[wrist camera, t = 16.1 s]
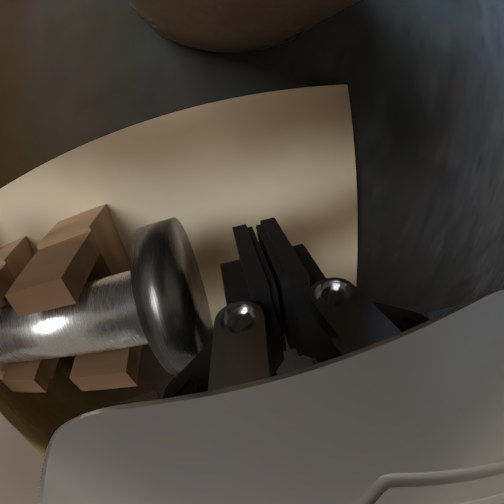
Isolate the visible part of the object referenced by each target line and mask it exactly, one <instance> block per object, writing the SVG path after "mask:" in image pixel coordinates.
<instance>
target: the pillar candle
mask: <svg viewBox="0 0 504 504" xmlns="http://www.w3.org/2000/svg"><path fill="white" fill-rule="evenodd" d="M127 1H128V2H129V3H130V5H131V7H132V9H134V10H135V11H136V12H137V13H138V15H139V16H140V17H141V18H142V19H144V20H145V21H146V22H147V23H148V24H149V25H150V26H151V28H153V29H154V30H155V31H156V32H158V33H159V34H160V36H162V37H164V38H165V39H168V40H171V41H174V42H176V43H178V44H181V45H184V46H187V47H192V48H197V49H202V50H206V51H212V52H225V53H241V52H252V51H259V50H264V49H268V48H271V47H272V46H278V45H282V44H285V43H287V42H289V41H291V40H293V39H295V38H297V37H299V36H301V35H302V34H304V33H306V32H307V31H308V30H310V29H311V28H313V27H314V26H315V25H316V24H317V23H318V22H321V21H324V20H325V19H327V18H330V17H331V16H332V15H334V14H336V13H339V12H340V11H341V10H343V9H346V8H348V7H350V6H351V5H354V4H356V3H358V2H361V1H363V0H127Z"/></svg>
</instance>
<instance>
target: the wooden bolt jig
mask: <svg viewBox="0 0 504 504" xmlns="http://www.w3.org/2000/svg"><path fill="white" fill-rule="evenodd" d="M173 217H175V218H177V219H178V220H179V221H180V223H181V224H182V226H183V228H184V230H185V232H186V234H187V236H188V238H189V241H190V243H191V246H192V249H193V252H194V254H195V258H196V261H197V264H198V267H199V270H200V274H201V277H202V281H203V284H204V288H205V292H206V296H207V300H208V304H209V309H210V313H211V318H212V323H213V328H214V320H215V317H216V315H217V314H218V312H219V311H220V310H221V309H222V308H224V307H225V306H227V305H226V299H225V292H224V286H223V280H222V273H221V266H220V264H222V263H226V262H231V261H235V260H239V254H238V250H237V246H236V242H235V238H234V233H233V229H232V227H235V226H239V225H244V224H246V226H247V227H251V226H252V227H253V230H254V232H255V234H256V237H257V239H258V235H257V230H256V225H259V224H260V220H265V219H269V218H273V217H274V218H275V219H276V221H277V222H278V224H279V226H280V227H281V229H282V230H283V232H284V234H285V235H286V237H287V239H288V240H289V242H290V244H291V245H292V246H295V245H299V244H303V245H304V246H305V247H306V249H307V250H308V252H309V253H310V255H311V256H312V258H313V259H314V261H315V262H316V264H317V265H318V267H319V268H320V270H321V271H322V273H323V274H324V276H325V277H326V278H333V277H336V278H342V279H345V280H348V281H349V282H351V283H352V284H353V285H355V286H356V280H357V250H358V210H357V180H356V162H355V148H354V136H353V126H352V117H351V108H350V100H349V93H348V86H347V85H327V86H314V87H303V88H294V89H286V90H278V91H271V92H264V93H258V94H252V95H246V96H241V97H236V98H231V99H226V100H221V101H217V102H212V103H208V104H204V105H200V106H196V107H192V108H188V109H184V110H181V111H177V112H174V113H170V114H167V115H163V116H160V117H157V118H154V119H150V120H147V121H144V122H141V123H138V124H136V125H133V126H130V127H127V128H124V129H122V130H119V131H116V132H114V133H111V134H108V135H106V136H103V137H101V138H98V139H96V140H94V141H91V142H89V143H87V144H84V145H82V146H80V147H78V148H75V149H73V150H71V151H69V152H67V153H65V154H63V155H60V156H58V157H56V158H54V159H52V160H50V161H48V162H46V163H45V164H43V165H41V166H39V167H37V168H35V169H33V170H31V171H30V172H28V173H26V174H24V175H23V176H21V177H19V178H17V179H16V180H14V181H12V182H11V183H9V184H7V185H6V186H4V187H3V188H1V189H0V306H4V305H7V304H11V306H12V307H13V309H14V310H15V312H16V313H17V315H18V316H19V317H21V316H25V315H30V314H34V313H38V312H42V311H46V310H51V309H55V308H59V307H63V306H67V305H71V304H75V303H77V300H78V298H79V296H80V294H81V292H82V289H83V287H84V285H85V283H86V282H89V281H92V280H96V279H100V278H103V277H107V276H111V275H115V274H118V273H122V272H126V271H129V270H130V254H131V245H132V240H133V237H134V234H135V232H136V230H137V229H138V228H139V227H142V226H145V225H148V224H152V223H155V222H158V221H162V220H165V219H169V218H173ZM258 242H259V240H258ZM141 349H142V345H140V346H135V347H129V348H123V349H117V350H111V351H104V352H98V353H91V354H84V355H77V356H76V357H75V360H74V363H73V367H72V370H71V374H70V379H71V380H72V381H73V382H74V383H75V384H76V385H77V386H78V387H79V388H80V389H81V390H82V391H89V390H103V389H114V388H124V387H133V386H137V385H138V375H139V366H140V357H141ZM58 361H59V358H52V359H43V360H33V361H21V362H8V363H0V379H2V381H3V382H4V383H5V384H6V385H7V386H8V387H9V388H10V389H11V390H12V391H13V392H46V391H47V387H48V384H49V381H50V378H53V376H54V373H55V370H56V367H57V364H58Z"/></svg>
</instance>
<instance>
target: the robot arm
mask: <svg viewBox="0 0 504 504" xmlns="http://www.w3.org/2000/svg"><path fill="white" fill-rule="evenodd" d="M232 229H233V233H234V238H235V242H236V246H237V250H238V254H239V260H235V261H231V262H226V263H222V264H220V266H221V273H222V280H223V286H224V292H225V299H226V305H227V306H225V307H224V308H222V309H221V310H220V311H219V312H218V314H217V315H216V317H215V320H214V328H213V338H212V340H211V341H210V342H209V343H208V344H207V345H206V346H205V347H204V348H203V349H202V350H201V351H200V352H199V353H198V354H197V355H196V356H195V357H194V358H193V360H192V361H191V362H190V363H189V364H188V365H187V366H186V367H185V368H184V369H183V370H182V371H181V372H180V373H179V374H178V375H177V376H176V377H175V378H174V379H173V380H172V381H171V382H170V383H169V384H168V386H167V387H166V388H165V391H164V392H161V393H158V392H157V391H153V392H150V393H147V394H144V395H141V396H138V397H135V398H132V399H129V400H126V401H123V402H119V403H116V404H113V405H109V406H106V407H104V408H101V409H98V410H94V411H91V412H88V413H85V414H82V415H80V416H78V417H76V418H73V419H71V420H69V421H68V422H66V423H64V424H63V425H62V426H60V427H59V428H58V429H57V430H56V431H55V432H54V434H53V436H52V438H51V440H50V442H49V444H48V447H47V450H46V454H45V458H44V463H43V468H42V474H41V481H40V491H39V504H504V289H499V290H495V291H491V292H489V293H486V294H483V295H481V296H478V297H476V298H474V299H472V300H470V301H468V302H466V303H463V304H461V305H459V306H455V307H451V308H446V309H442V310H437V311H433V312H428V313H426V316H425V317H424V316H423V315H421V314H419V313H416V312H412V311H408V310H404V309H400V308H395V307H391V306H387V305H383V304H379V303H375V302H371V301H370V300H369V299H368V298H367V297H366V296H365V295H364V294H363V293H362V292H361V291H360V290H359V289H358V288H357V287H356V286H355V285H353V284H352V283H351V282H349V281H348V280H345V279H342V278H336V277H333V278H326V277H325V276H324V274H323V273H322V271H321V270H320V268H319V267H318V265H317V264H316V262H315V261H314V259H313V258H312V256H311V255H310V253H309V252H308V250H307V249H306V247H305V246H304V245H303V244H299V245H295V246H292V245H291V244H290V242H289V240H288V239H287V237H286V235H285V234H284V232H283V230H282V229H281V227H280V226H279V224H278V222H277V221H276V219H275V218H274V217H273V218H269V219H265V220H260V224H259V225H256V230H257V235H258V239H257V237H256V234H255V232H254V230H253V227H252V226H251V227H247V226H246V224H244V225H239V226H235V227H232ZM258 240H259V242H258ZM284 333H285V336H286V339H287V342H288V344H289V347H290V349H294V348H296V350H297V353H298V355H299V356H301V355H306V356H309V357H311V358H312V361H313V363H314V365H311V366H308V367H305V368H301V369H298V370H294V371H291V372H287V373H284V374H280V375H277V373H276V370H277V369H278V368H279V366H280V365H281V363H282V362H283V361H284V355H283V351H286V344H285V338H284Z"/></svg>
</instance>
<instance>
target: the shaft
mask: <svg viewBox="0 0 504 504" xmlns="http://www.w3.org/2000/svg"><path fill="white" fill-rule="evenodd" d="M212 338H213V323H212V318H211V313H210V309H209V304H208V300H207V296H206V292H205V288H204V284H203V281H202V277H201V274H200V270H199V267H198V264H197V261H196V258H195V254H194V252H193V249H192V246H191V243H190V241H189V238H188V236H187V234H186V232H185V230H184V228H183V226H182V224H181V223H180V221H179V220H178V219H177V218H175V217H173V218H169V219H165V220H162V221H158V222H155V223H152V224H148V225H145V226H142V227H139V228H138V229H137V230H136V232H135V234H134V237H133V240H132V245H131V254H130V270H129V271H126V272H122V273H118V274H115V275H111V276H107V277H103V278H100V279H96V280H92V281H89V282H86V283H85V285H84V287H83V289H82V292H81V294H80V296H79V298H78V300H77V303H75V304H71V305H67V306H63V307H59V308H55V309H51V310H46V311H42V312H38V313H34V314H30V315H25V316H21V317H19V316H18V315H17V313H16V312H15V310H14V309H13V307H12V306H11V304H7V305H4V306H0V363H8V362H21V361H33V360H43V359H52V358H61V357H69V356H77V355H84V354H91V353H98V352H104V351H111V350H117V349H123V348H129V347H135V346H140V345H146V344H149V346H150V348H151V349H152V351H153V353H154V355H155V357H156V358H157V360H158V362H159V363H160V364H161V366H162V367H163V368H164V369H165V370H166V371H167V372H168V373H169V374H170V375H172V376H173V377H176V376H177V375H178V374H179V373H180V372H181V371H182V370H183V369H184V368H185V367H186V366H187V365H188V364H189V363H190V362H191V361H192V360H193V358H194V357H195V356H196V355H197V354H198V353H199V352H200V351H201V350H202V349H203V348H204V347H205V346H206V345H207V344H208V343H209V342H210V341H211V340H212Z"/></svg>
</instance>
